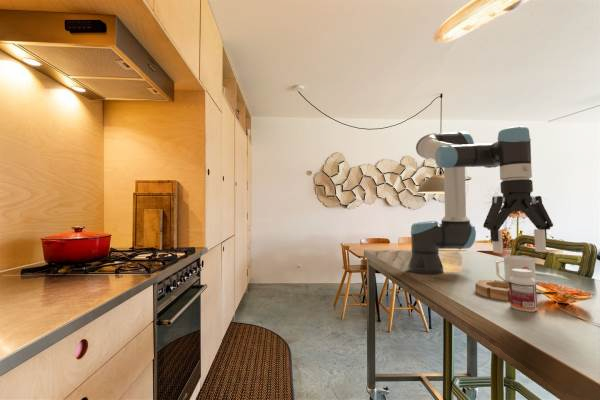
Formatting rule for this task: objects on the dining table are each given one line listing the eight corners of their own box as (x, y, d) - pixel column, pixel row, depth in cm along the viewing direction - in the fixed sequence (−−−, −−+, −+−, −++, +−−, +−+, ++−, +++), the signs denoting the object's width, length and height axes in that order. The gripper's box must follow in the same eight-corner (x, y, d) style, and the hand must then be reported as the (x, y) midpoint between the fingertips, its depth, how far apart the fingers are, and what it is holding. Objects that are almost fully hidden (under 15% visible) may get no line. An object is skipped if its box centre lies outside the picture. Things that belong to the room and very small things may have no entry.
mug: (526, 285, 106) (525, 255, 106) (542, 292, 97) (540, 259, 97) (491, 284, 108) (489, 255, 108) (503, 290, 99) (502, 259, 99)
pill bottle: (517, 303, 85) (515, 267, 86) (542, 310, 80) (540, 271, 80) (505, 307, 83) (503, 269, 83) (530, 313, 77) (528, 273, 78)
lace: (522, 293, 95) (522, 292, 95) (554, 292, 97) (554, 290, 97) (524, 294, 95) (524, 292, 95) (557, 292, 96) (556, 291, 96)
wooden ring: (467, 289, 101) (466, 280, 102) (502, 287, 103) (502, 279, 103) (498, 301, 87) (498, 291, 88) (539, 299, 89) (538, 290, 89)
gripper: (486, 178, 78) (490, 255, 77) (566, 178, 81) (571, 252, 80) (467, 181, 86) (470, 251, 85) (541, 181, 88) (545, 249, 87)
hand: (519, 252), depth 82 cm, fingers open, 13 cm apart
